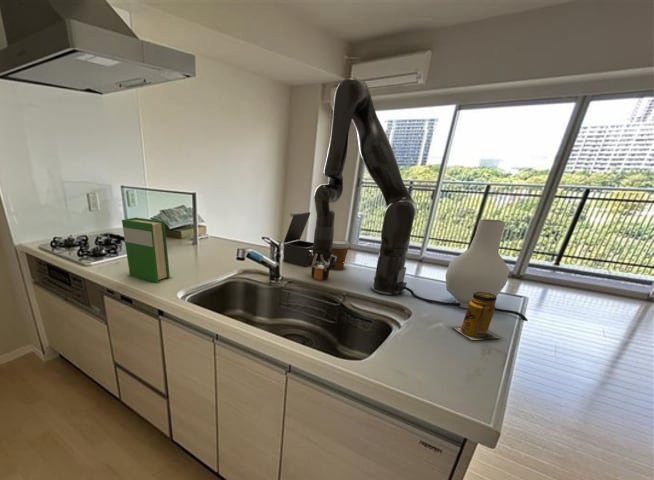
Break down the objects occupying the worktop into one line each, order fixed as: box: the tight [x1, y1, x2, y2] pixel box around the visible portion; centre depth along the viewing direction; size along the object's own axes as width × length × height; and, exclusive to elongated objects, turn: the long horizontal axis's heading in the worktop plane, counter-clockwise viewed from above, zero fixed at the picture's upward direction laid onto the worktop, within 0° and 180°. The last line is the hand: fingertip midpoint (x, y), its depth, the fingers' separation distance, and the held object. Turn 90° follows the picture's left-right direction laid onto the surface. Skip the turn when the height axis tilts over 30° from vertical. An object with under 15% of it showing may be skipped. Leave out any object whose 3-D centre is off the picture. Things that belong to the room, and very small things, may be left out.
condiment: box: [453, 292, 501, 341], centre depth 94 cm, size 7×8×12 cm
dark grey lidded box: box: [282, 239, 314, 268], centre depth 163 cm, size 14×12×9 cm
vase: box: [445, 218, 511, 309], centre depth 109 cm, size 17×16×28 cm
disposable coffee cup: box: [329, 239, 351, 270], centre depth 153 cm, size 10×10×12 cm
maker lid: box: [283, 211, 311, 243], centre depth 163 cm, size 14×12×5 cm
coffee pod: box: [313, 264, 324, 281], centre depth 142 cm, size 5×5×5 cm
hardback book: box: [121, 217, 171, 284], centre depth 143 cm, size 18×7×24 cm, turn 53°
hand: (319, 277), depth 142 cm, fingers closed on coffee pod, 5 cm apart
